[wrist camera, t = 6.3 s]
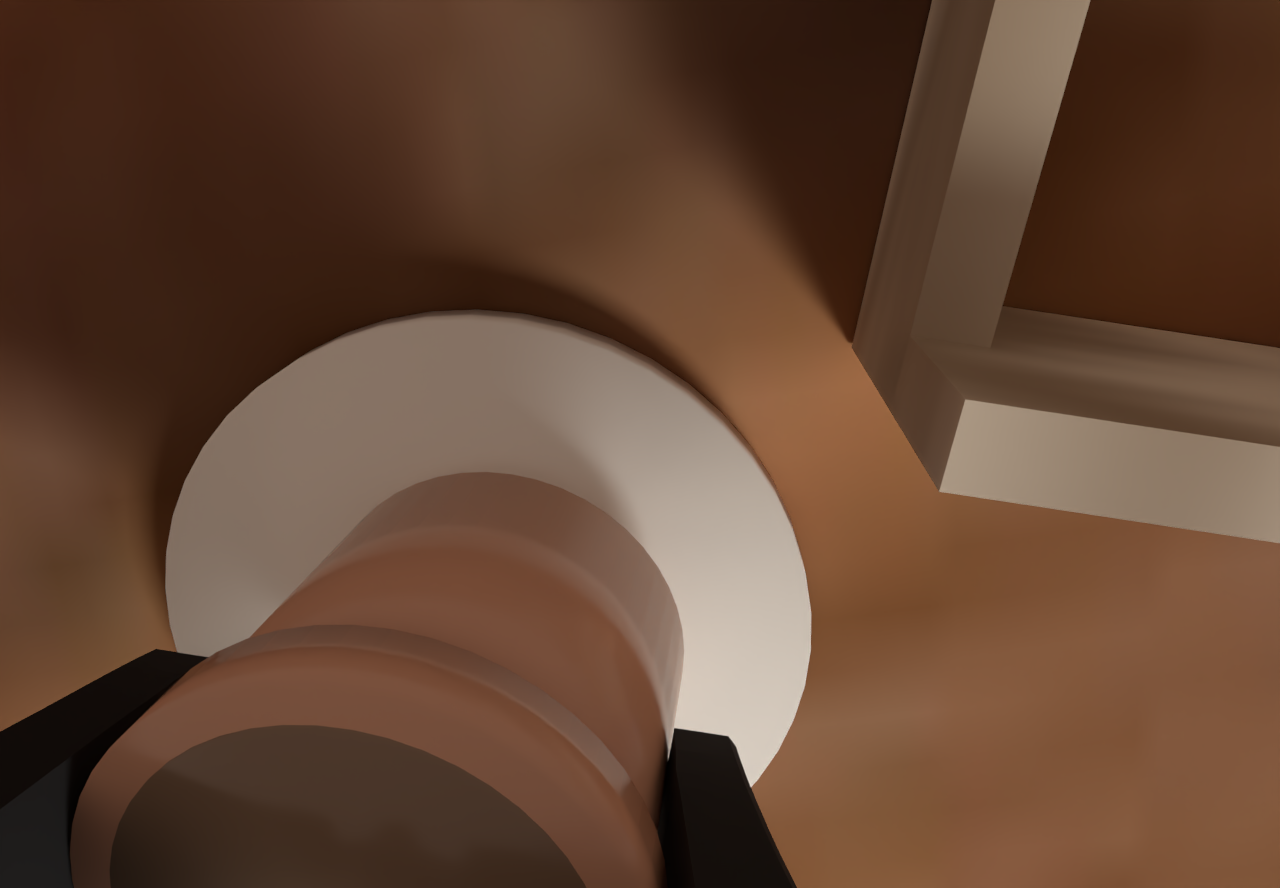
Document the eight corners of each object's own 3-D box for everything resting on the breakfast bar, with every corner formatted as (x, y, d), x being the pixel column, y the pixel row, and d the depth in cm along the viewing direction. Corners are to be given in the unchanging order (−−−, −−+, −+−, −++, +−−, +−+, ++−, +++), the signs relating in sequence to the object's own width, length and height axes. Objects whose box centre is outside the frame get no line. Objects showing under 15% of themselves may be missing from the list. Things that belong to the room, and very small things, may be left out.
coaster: (871, 366, 12) (880, 379, 11) (744, 892, 15) (745, 923, 15) (173, 260, 12) (148, 268, 11) (197, 809, 15) (178, 836, 15)
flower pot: (747, 522, 11) (730, 798, 7) (646, 841, 13) (582, 1211, 9) (335, 407, 11) (65, 605, 7) (296, 738, 13) (66, 1051, 9)
